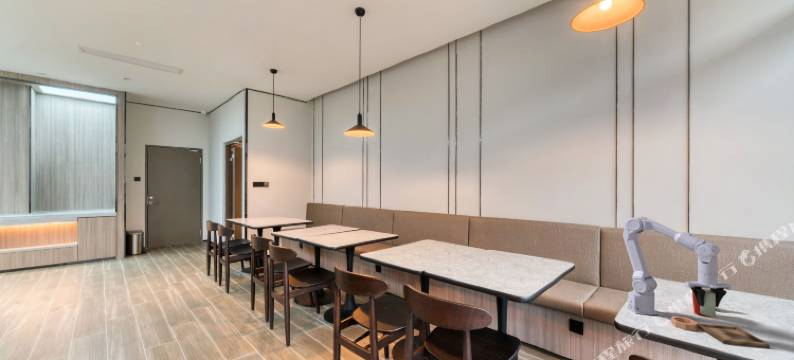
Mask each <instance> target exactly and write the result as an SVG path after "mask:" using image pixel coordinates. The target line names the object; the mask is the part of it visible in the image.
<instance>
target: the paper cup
mask: <svg viewBox="0 0 794 360" xmlns="http://www.w3.org/2000/svg"><path fill="white" fill-rule="evenodd" d="M702 289H703V290H707V291H711V290H710V288H702ZM691 292H692V293H691V294H692V307H693V309H692V310H693V314H695V315H697V316H700V317H705V318H711V317H712V316H707V315H703V314H701V313H700V305H698V303H697V299H696V297H695V294H694V293H693V291H692V290H691Z"/></svg>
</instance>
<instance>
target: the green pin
mask: <svg viewBox="0 0 794 360" xmlns="http://www.w3.org/2000/svg"><path fill="white" fill-rule="evenodd" d="M705 291H706V293H705V296H704V306H700V313H701V314H703V315H707V316H711V317H716V314H717V311H716V309H717V307H716V293H714V292H711V291H707V290H705Z"/></svg>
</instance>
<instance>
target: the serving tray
mask: <svg viewBox="0 0 794 360" xmlns="http://www.w3.org/2000/svg"><path fill="white" fill-rule="evenodd" d="M696 323H697V329H700V330H702V331H703V332H704V333H706V334H707V335H709V336H711V337H712V338H714V339H716V340H717V341H719V343H722V344H723V345H733V346H741V347H742V346H743V347H751V348H752V347H755V348H762V349H763V348H764V349H765V348H766V349H771V345H770V343H768V342H766V341H764V340H762V339H761V338H760V337H756V335H753V334H752V333H750V332H748V331H746V330H744V329H742V328H741V327H739V326H734V325H725V324H714V323H704V322H703V323H701V322H696Z"/></svg>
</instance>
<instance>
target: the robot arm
mask: <svg viewBox="0 0 794 360" xmlns="http://www.w3.org/2000/svg"><path fill="white" fill-rule="evenodd" d="M623 224H624V228H623V233H622V238H623V241H624V244H625V247H626V250H627V254H628V258H629V260H630V264H631V267H632V270H633V274H632V276H631V279H632V283H631V285H632V288H633V290H631V291H628V293H627V308H628V309H629V310H631V311H632V312H633V313H635V314H637V315H638V314H639V315H640V314H641V315H653V316H659V315H658V314H659V313H658V312H657V311H656V310H655V296H656V295H655V290H656V289H657V287H658V283H657V281H656V279H654V277H653V275H652V273H651V272H649V270H648V268H647V267H648V266H647V264H646V262H645V258H644V255H643V251H642V248H641V245H640V243H639V239H638V237H639V236H640V235H641V234H642V233H643V232H645V231H654V232H655V233H658V234H661V235H664V236H665V237H668V238H670V239H673V240H674V242H675V244H677V245H679V246H681V247H683V248H686V249H687V250H689V251H692V252H694V253H695V254H696V256H697V280H689V281H688V280H687V281H684V285H685V287H687V288H690V289H691V292H692V291H693V293H694V294H695V297H696V299H697V303H698V305H700V306H704V296H705V293H706V291H705V290H703V289H702V288H710V290H711V292H714V293H716V308H719V307H720V304H721V302H722V299H723V298H724V296H726V295H727V290H729V291H732V285H731V284H729V283H723V282H719V271H718V270H719V262H718V255H719V254H720V253H721V249H720V248H719V246H718V245H717V244H715V243H714V242H712V241H706V240H705V239H703V238H702V239H701V238H700V237H699V238H698V237H696V236H694V235H692V233H691V232H684V231H682V232H678V231H676V230H673V229H671V228H670V227H668V226H666V225H663V224H662V223H659V222H657V221H656V220H653V219H651V218H647V217H646V216H639V217H638V216H637V217H630V218H628V219H627V220H626V221H625V222H624V223H623ZM654 314H655V315H654ZM656 314H657V315H656Z"/></svg>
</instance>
